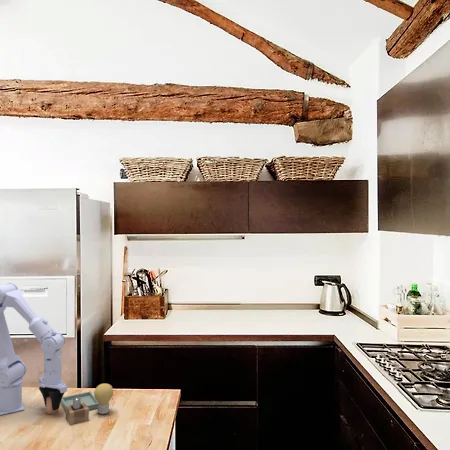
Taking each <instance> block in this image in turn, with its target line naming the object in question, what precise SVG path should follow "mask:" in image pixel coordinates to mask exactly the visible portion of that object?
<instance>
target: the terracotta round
mask: <svg viewBox="0 0 450 450" xmlns="http://www.w3.org/2000/svg"><path fill="white" fill-rule="evenodd" d="M45 408H46V410H45V411H46V414H47V415H55V414H57V413H58V412H59V409H57V410H54V411H53V410H52V402H51V397H50V396H48V397H47V400H46V406H45Z"/></svg>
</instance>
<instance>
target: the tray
mask: <svg viewBox="0 0 450 450" xmlns="http://www.w3.org/2000/svg"><path fill="white" fill-rule="evenodd" d="M75 397H80V398H81V402H84V403H85V404H86V405H87V407H88V408H89V412H90V411H93V410H98V404H99V403H98V402H97V400H96V399H95V396H94V394H93V392H92V391H90V390H89V391H85V392H82V393H81V392H80V393H76V394H71V395H67V396H63V397H62V400H61V403H60V405H61V406H62V408H63V409H64V411H65V412H66V406H68V405H73V398H75Z"/></svg>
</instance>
